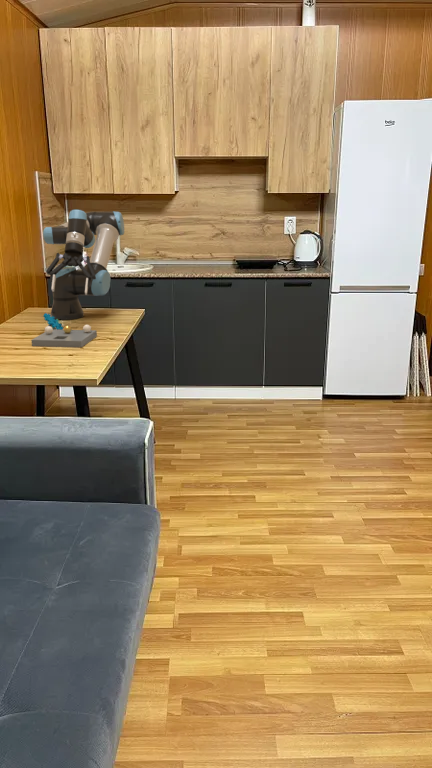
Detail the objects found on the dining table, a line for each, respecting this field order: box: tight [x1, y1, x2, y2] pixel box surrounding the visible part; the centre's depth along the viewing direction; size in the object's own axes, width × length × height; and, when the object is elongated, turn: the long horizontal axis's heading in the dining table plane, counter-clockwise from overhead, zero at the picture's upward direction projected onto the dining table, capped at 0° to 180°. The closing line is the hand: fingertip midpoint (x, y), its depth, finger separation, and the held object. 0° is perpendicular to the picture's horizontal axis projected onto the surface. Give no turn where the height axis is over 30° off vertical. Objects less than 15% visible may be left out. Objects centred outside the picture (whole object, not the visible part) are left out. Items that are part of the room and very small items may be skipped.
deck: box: [30, 328, 98, 348], centre depth 224 cm, size 18×20×2 cm
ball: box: [63, 324, 73, 333], centre depth 226 cm, size 3×3×3 cm
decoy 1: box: [44, 325, 54, 334], centre depth 225 cm, size 3×3×3 cm
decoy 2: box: [82, 324, 92, 333], centre depth 227 cm, size 3×3×3 cm
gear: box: [42, 313, 64, 330], centre depth 242 cm, size 11×6×10 cm
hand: (69, 292), depth 235 cm, fingers open, 13 cm apart
